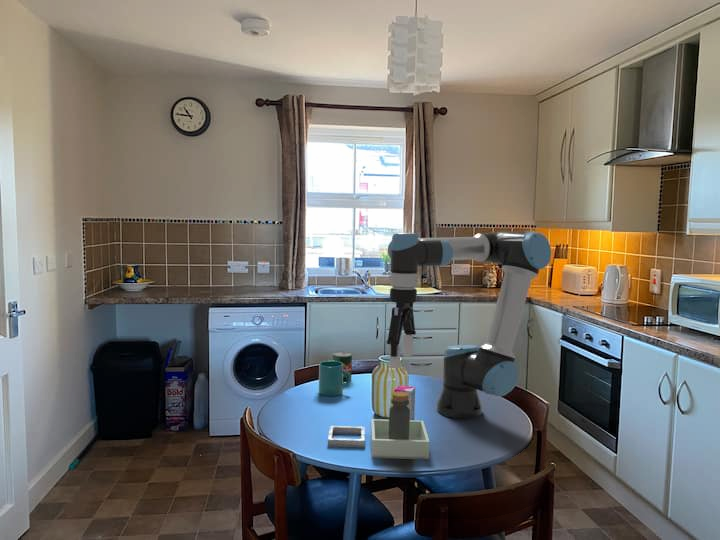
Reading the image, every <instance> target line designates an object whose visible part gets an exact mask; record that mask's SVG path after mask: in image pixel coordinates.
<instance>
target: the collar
mask: <svg viewBox="0 0 720 540" xmlns="http://www.w3.org/2000/svg"><path fill="white" fill-rule="evenodd" d="M365 427H366V426H354V425H353V426H349V425H330V426H329V429H328V430H329V431H328V437H327V447H334V448H335V447H336V448H365V446H366V445H365V444H366V443H365V442H366V438H365V436H366V435H365V434H366V433H365V431H366V430H365V429H366V428H365ZM335 434H336V435H337V434H339V435H341V434H342V435H360V438H333V437H334V435H335Z"/></svg>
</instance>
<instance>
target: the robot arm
mask: <svg viewBox="0 0 720 540" xmlns="http://www.w3.org/2000/svg"><path fill="white" fill-rule="evenodd" d="M387 254H388V256H389V258H390V275H389V276H388V279H390V283H389V284H390V287H391V288H390V289H389V301H390V302H391V303H395V307H392V308H391V318H390V324H389V331H388V336H387V340H386V345H389V359H388V361H389V362H388V363H389V364H388V365H389V366H388V367H389V368H390V369H400V365H401V344H400V342H401V337H402V338H403V339H402V357H405V358H413V343H414V342H413V337H414V336H413V335H416V334H417V331H416V326H415V316H414V303H416V302H417V295H418V293H417V292H418V291H417V289H416V288H417V287H418V268H419V267H442V266H447V265H449V264H451V261H463V260H464V261H465V260H466V261H467V260H474V261H476V262H477V263H478V262H479V263H483V262H484V263H490V264H491V263H492V264H498V265H501V268H502V270H503V272H504V276H503V279H502V281H501V285H500V289H499V293H498V297H497V300H496V304H495V308H494V311H493V315H492V318H491V319H492V320H491V322H490V326H489V328H488V329H489V330H488V332H487V333H488V334H487V337H486V341H485V343H484V344H482V345H480V346H478V345H475V344H455V345H454V344H453V345H449V346H446V348H445V350H444V355H443V380H442V381H443V383H442V385H443V386H442V390H441V392H440V395H439V398H438V400H437V404H436V406H437V407H436V410H437V412H438V413H439V414H441V415H442V416H445V417H447V418H453V419H461V420H467V419H475V418H479V417H481V415H482V409H483V407H482V403H481V399H480V396H479V392H478V391H481V392H483V393H485V394H487V395H491V396H495V397H504V396H506V395H508V394H509V393H511V392H512V391H513V390H514V388H515V387H516V386H517V383H518V381H519V375H520V373H519V368H518V366H517V365H516V363H515V360H516V356H515V354H514V353H513V349H514V345H515V341H516V337H517V334H518V331H519V327H520V323H521V318H522V315H523V312H524V308H525V304H526V302H527V297H528V293H529V290H530V285H531V283H532V280H534V279H535V278H537V277H538V276H539V272H540V270H542V269H545V268H546V267H547V266H548V265H549V263H550V262H551V258H552V247H551V244H550V241H549V239H548V238H547V237H546V236H545V235H544V234H543V233H541V232H537V231H536V232H535V231H531V230H530V231H517V230H516V231H513V230H511V231H510V230H503V231H502V230H501V231H494V232H487V233H486V232H485V233H477V234H474V235H473V236H461V237H458V236H457V237H456V236H455V237H419V234H418V233H416V232H395V233H393V234H392V236H391V241H390V242H389V244H388V246H387ZM403 332H404V333H403ZM402 333H403V335H402ZM478 416H479V417H478Z"/></svg>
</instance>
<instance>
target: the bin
mask: <svg viewBox="0 0 720 540" xmlns="http://www.w3.org/2000/svg"><path fill="white" fill-rule="evenodd" d="M370 420H371V422H370V423H371V424H370V425H371V426H370V443H371V444H370V447H371V449H370V450H371V458H372V459H402V460H405V459H406V460H407V459H408V460H430V440H429V436H428V431H427V429H426V426H425V421H424V420H415V419H414V420H410V424H409V440H394V439H389V419H384V418H383V419H382V418H381V419H380V418H379V419H377V418H372V419H370Z"/></svg>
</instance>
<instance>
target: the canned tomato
mask: <svg viewBox="0 0 720 540" xmlns="http://www.w3.org/2000/svg"><path fill="white" fill-rule="evenodd" d="M352 357H353V353H352V352H351V351H342V350H339V351H335V352H333V353H332V361H339V362H342V363H343V370H344V371H347V372H348V373H349V374H350V376H351V377H352V370H353V369H352V368H353V367H352V366H353V365H352V363H353V362H352V361H353V358H352ZM347 381H348V376H347V375H346V374H345V373H343V382H347Z"/></svg>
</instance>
